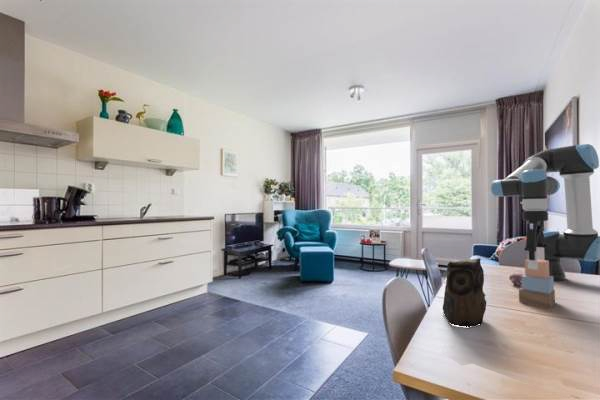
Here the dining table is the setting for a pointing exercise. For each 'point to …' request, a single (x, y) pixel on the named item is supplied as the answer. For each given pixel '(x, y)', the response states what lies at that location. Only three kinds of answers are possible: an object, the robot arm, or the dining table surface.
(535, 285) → the slate block
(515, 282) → the video game controller
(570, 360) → the dining table surface
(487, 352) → the dining table surface
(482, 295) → the owl
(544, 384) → the dining table surface
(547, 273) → the terracotta cube
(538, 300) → the walnut base
